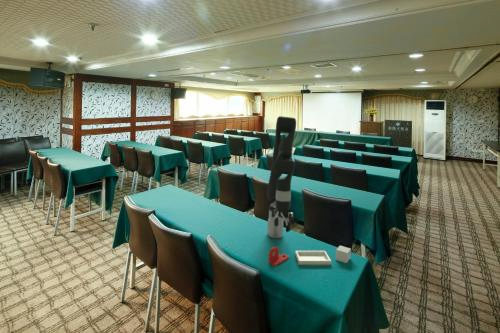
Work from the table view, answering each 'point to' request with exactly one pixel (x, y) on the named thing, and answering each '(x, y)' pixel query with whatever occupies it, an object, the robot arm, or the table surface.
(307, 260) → the holder tray
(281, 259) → the bracket
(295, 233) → the table surface
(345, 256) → the white cube
